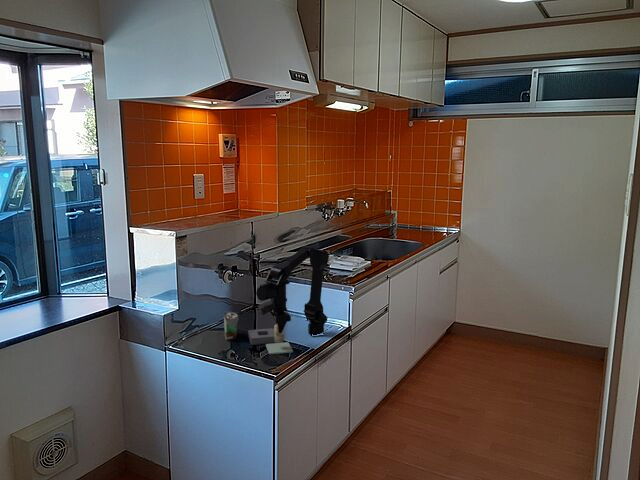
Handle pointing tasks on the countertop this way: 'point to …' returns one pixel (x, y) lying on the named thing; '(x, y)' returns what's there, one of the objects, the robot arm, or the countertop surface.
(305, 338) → the countertop surface
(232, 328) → the food container
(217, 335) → the countertop surface
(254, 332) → the grey square frame
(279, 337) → the plug
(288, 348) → the mat
